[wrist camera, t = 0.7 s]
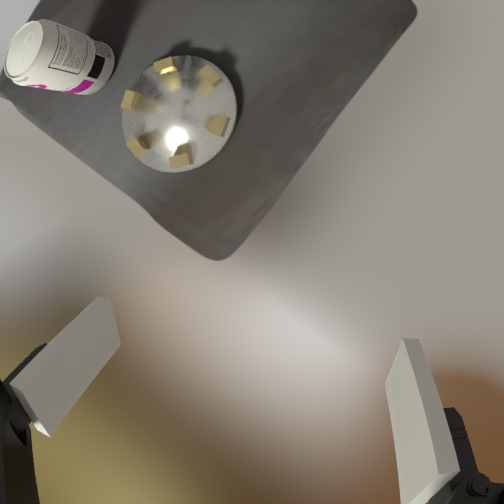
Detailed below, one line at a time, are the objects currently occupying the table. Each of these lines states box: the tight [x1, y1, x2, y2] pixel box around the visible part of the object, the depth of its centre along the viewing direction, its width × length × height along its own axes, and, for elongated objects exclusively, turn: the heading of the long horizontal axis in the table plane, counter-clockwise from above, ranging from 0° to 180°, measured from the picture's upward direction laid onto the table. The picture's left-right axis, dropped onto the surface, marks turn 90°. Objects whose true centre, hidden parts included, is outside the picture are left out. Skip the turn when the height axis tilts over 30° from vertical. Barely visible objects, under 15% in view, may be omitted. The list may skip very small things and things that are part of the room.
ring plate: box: [120, 55, 238, 172], centre depth 35 cm, size 15×15×3 cm
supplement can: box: [4, 19, 115, 95], centre depth 28 cm, size 8×8×15 cm
